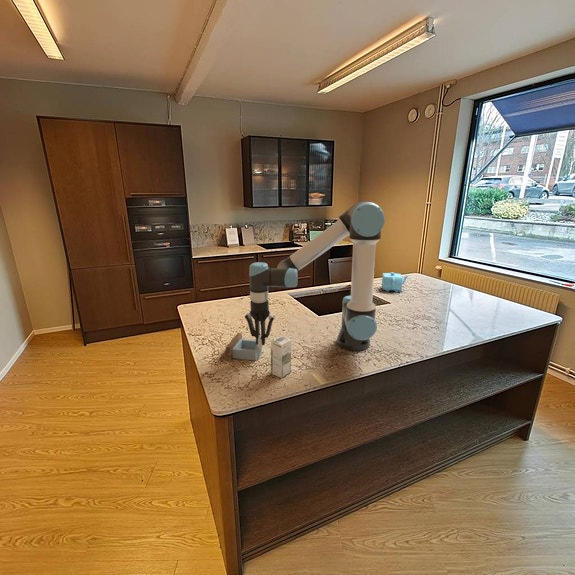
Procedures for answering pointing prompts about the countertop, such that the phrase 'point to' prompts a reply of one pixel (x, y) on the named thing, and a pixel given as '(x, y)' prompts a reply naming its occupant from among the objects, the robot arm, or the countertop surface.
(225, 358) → the base
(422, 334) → the countertop surface
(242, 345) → the blue gray square tray
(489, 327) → the countertop surface
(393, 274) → the teapot
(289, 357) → the syrup box
